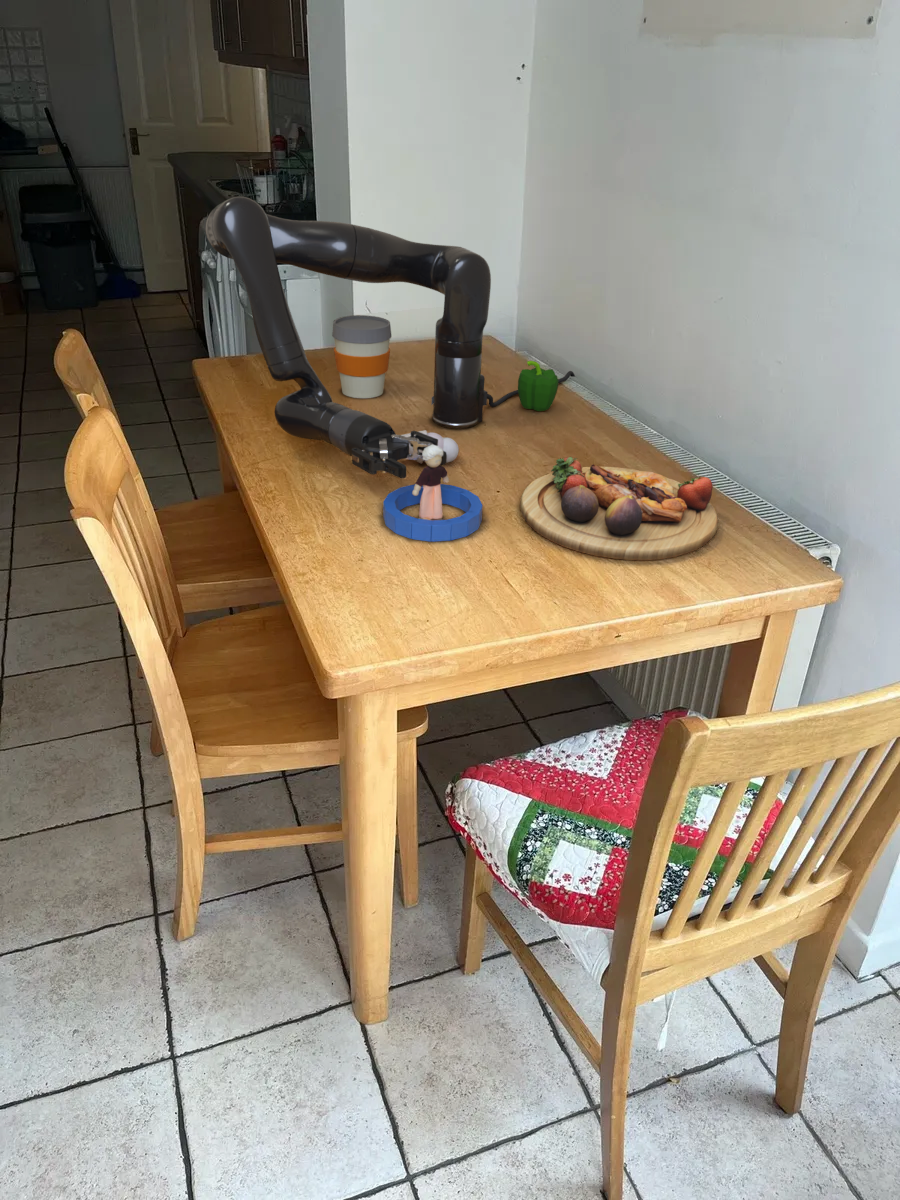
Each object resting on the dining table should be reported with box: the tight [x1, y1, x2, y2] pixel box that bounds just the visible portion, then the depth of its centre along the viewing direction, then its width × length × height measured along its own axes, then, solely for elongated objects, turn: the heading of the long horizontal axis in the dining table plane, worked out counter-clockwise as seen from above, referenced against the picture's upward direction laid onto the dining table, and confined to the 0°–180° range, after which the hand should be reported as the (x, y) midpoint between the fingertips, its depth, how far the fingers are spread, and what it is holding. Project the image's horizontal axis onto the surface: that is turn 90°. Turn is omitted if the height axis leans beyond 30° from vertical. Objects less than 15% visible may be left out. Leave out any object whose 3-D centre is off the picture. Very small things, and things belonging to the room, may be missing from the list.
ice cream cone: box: [400, 429, 460, 464], centre depth 164 cm, size 6×6×15 cm
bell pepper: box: [517, 360, 559, 412], centre depth 191 cm, size 8×8×10 cm
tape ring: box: [382, 483, 484, 543], centre depth 145 cm, size 16×16×3 cm
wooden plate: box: [519, 456, 719, 561], centre depth 147 cm, size 32×32×8 cm
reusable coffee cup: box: [331, 314, 392, 399], centre depth 195 cm, size 13×13×15 cm
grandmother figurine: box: [412, 444, 450, 520], centre depth 143 cm, size 8×4×13 cm, turn 147°
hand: (425, 465), depth 143 cm, fingers open, 8 cm apart
